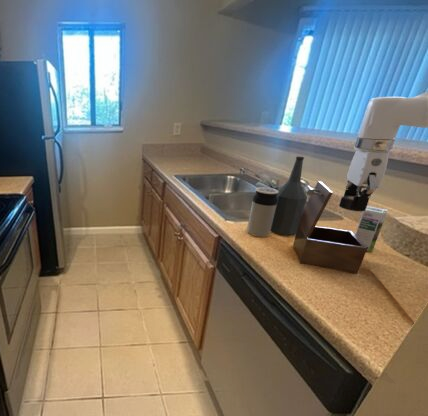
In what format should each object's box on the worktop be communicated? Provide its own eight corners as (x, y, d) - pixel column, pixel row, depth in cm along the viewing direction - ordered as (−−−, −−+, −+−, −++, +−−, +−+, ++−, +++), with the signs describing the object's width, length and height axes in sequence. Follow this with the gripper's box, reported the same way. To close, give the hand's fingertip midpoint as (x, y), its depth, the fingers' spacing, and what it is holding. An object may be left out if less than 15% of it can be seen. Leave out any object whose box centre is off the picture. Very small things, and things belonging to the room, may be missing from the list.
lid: (321, 181, 89) (304, 177, 90) (333, 192, 78) (313, 188, 80) (300, 223, 95) (284, 218, 97) (308, 238, 85) (291, 233, 86)
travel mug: (268, 239, 103) (279, 194, 97) (245, 234, 107) (254, 191, 101) (269, 231, 110) (279, 188, 103) (247, 227, 114) (255, 185, 107)
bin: (343, 254, 93) (351, 230, 90) (357, 274, 82) (367, 248, 79) (292, 246, 99) (298, 223, 96) (299, 263, 88) (306, 239, 85)
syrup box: (350, 246, 98) (363, 209, 92) (352, 241, 101) (365, 204, 96) (371, 252, 94) (387, 213, 88) (373, 247, 97) (388, 209, 92)
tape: (360, 205, 84) (363, 196, 82) (369, 212, 78) (372, 202, 77) (336, 203, 86) (339, 194, 85) (343, 209, 81) (346, 200, 80)
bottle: (282, 224, 116) (300, 153, 105) (303, 235, 107) (324, 158, 96) (261, 227, 114) (277, 155, 103) (280, 237, 105) (300, 159, 94)
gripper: (409, 150, 67) (382, 218, 73) (376, 141, 81) (357, 198, 88) (369, 148, 69) (347, 214, 76) (345, 140, 84) (328, 196, 91)
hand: (352, 205), depth 82 cm, fingers closed on tape, 6 cm apart
